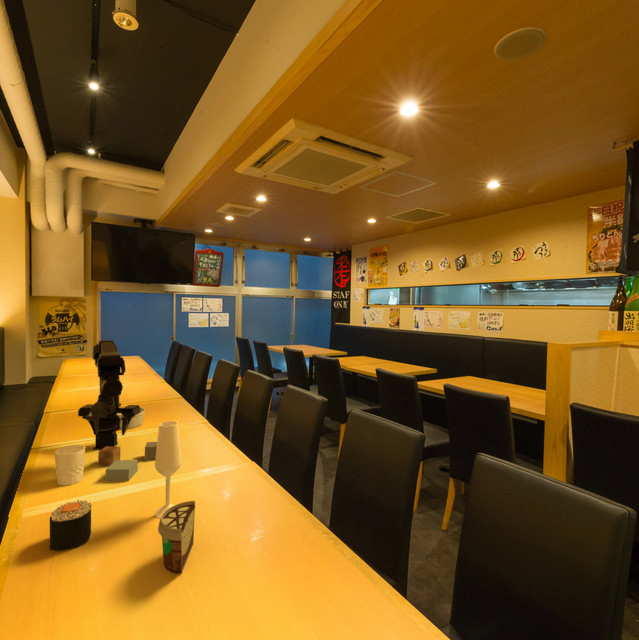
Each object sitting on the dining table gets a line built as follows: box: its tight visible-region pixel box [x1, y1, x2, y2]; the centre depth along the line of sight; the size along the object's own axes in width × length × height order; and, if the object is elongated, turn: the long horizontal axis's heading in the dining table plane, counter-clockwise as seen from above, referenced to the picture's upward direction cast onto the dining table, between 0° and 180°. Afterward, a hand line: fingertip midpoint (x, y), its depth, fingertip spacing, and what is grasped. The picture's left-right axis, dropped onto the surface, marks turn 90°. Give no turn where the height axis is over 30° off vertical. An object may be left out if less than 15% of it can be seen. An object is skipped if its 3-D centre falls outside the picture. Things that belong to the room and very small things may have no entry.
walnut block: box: [97, 446, 121, 467], centre depth 129 cm, size 5×5×5 cm
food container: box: [157, 500, 196, 575], centre depth 81 cm, size 12×6×10 cm, turn 5°
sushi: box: [49, 499, 93, 552], centre depth 87 cm, size 8×8×8 cm
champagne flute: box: [154, 420, 183, 519], centre depth 100 cm, size 7×7×24 cm
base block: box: [105, 459, 139, 482], centre depth 120 cm, size 7×7×4 cm
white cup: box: [54, 444, 86, 486], centre depth 116 cm, size 8×8×10 cm
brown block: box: [144, 441, 157, 462], centre depth 135 cm, size 5×5×5 cm
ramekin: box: [117, 406, 146, 430], centre depth 170 cm, size 13×13×7 cm
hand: (109, 434), depth 129 cm, fingers open, 9 cm apart
